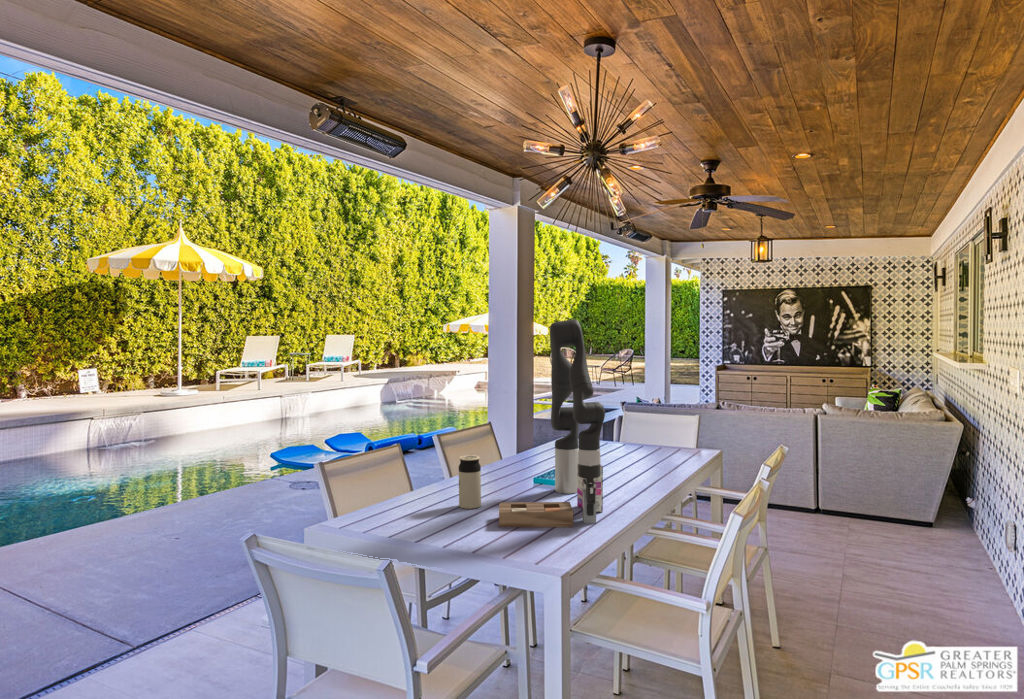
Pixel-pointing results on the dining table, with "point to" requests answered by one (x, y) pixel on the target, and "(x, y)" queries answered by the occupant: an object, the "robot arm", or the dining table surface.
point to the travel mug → (469, 482)
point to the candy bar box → (598, 491)
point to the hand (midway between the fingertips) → (589, 513)
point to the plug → (585, 517)
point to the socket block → (535, 514)
